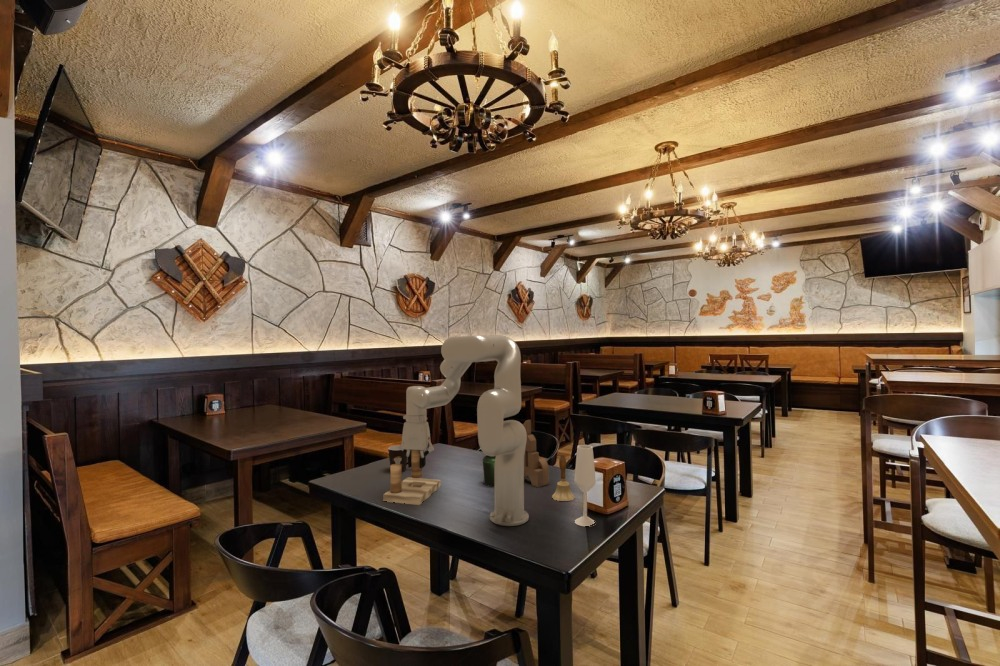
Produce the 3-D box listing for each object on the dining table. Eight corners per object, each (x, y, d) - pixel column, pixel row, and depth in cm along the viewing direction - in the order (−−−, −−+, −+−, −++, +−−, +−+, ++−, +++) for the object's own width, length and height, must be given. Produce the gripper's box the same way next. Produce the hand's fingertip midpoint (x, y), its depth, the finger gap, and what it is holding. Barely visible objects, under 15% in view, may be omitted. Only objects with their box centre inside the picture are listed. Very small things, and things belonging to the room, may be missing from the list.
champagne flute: (570, 519, 148) (570, 445, 148) (587, 516, 151) (587, 443, 151) (582, 528, 142) (582, 450, 142) (600, 524, 145) (600, 447, 144)
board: (419, 505, 161) (419, 470, 161) (383, 501, 164) (383, 467, 164) (440, 486, 180) (440, 455, 180) (407, 483, 184) (407, 453, 184)
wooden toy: (549, 484, 183) (549, 421, 183) (537, 487, 179) (537, 423, 179) (523, 474, 195) (523, 415, 195) (511, 478, 191) (511, 417, 191)
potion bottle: (488, 479, 189) (488, 435, 189) (506, 482, 185) (506, 437, 185) (478, 485, 182) (478, 439, 182) (496, 488, 178) (496, 441, 178)
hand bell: (565, 503, 162) (565, 458, 162) (547, 498, 168) (547, 454, 168) (579, 497, 168) (579, 454, 168) (560, 492, 174) (560, 450, 174)
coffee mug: (384, 472, 198) (384, 449, 198) (394, 467, 206) (394, 444, 206) (408, 475, 195) (408, 451, 195) (418, 469, 203) (418, 446, 203)
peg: (419, 478, 173) (419, 446, 173) (409, 477, 174) (409, 445, 174) (423, 475, 177) (423, 444, 177) (413, 474, 178) (413, 443, 178)
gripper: (391, 419, 174) (391, 468, 174) (433, 421, 170) (433, 471, 170) (400, 416, 181) (400, 462, 181) (440, 418, 177) (440, 465, 177)
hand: (416, 466), depth 175 cm, fingers closed on peg, 4 cm apart
